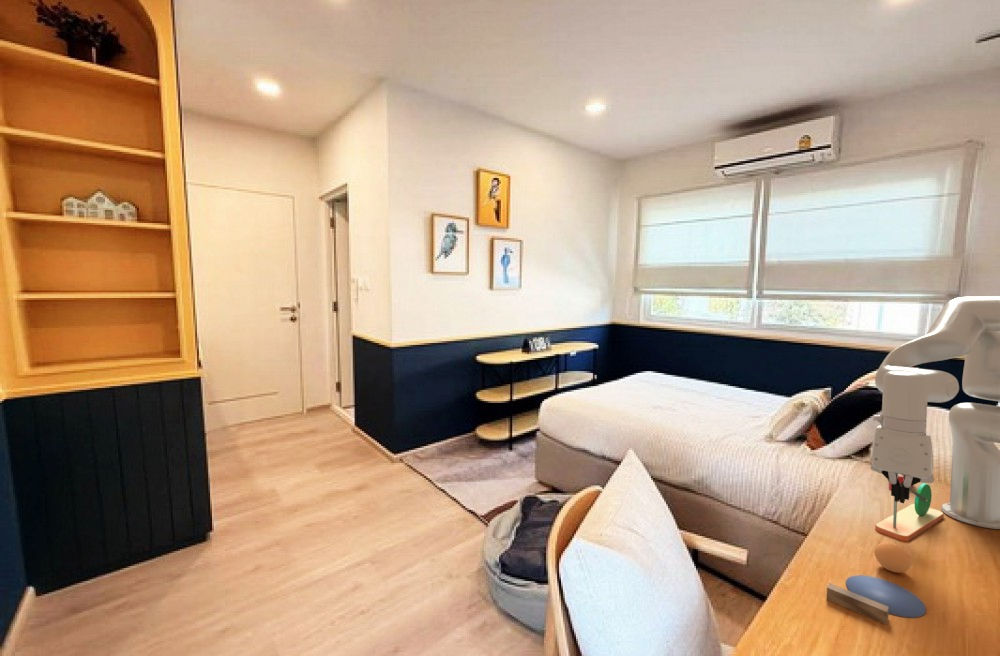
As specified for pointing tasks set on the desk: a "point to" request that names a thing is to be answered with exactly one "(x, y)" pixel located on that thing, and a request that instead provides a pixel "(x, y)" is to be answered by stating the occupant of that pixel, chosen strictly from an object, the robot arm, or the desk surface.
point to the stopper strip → (858, 603)
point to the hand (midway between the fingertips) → (899, 500)
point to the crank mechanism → (911, 515)
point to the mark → (887, 595)
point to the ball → (893, 557)
